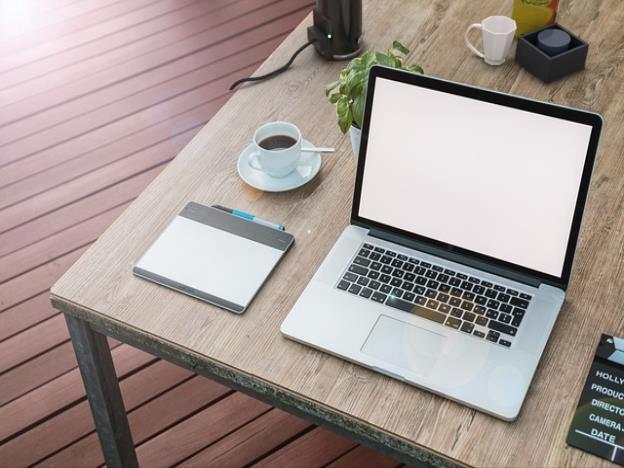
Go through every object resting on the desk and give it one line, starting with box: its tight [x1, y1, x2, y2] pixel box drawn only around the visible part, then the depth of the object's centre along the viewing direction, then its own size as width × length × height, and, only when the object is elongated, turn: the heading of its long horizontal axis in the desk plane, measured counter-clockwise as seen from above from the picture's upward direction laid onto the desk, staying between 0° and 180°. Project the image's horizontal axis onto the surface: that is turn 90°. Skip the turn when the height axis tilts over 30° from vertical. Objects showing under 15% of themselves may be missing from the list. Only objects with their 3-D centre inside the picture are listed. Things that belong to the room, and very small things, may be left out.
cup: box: [464, 15, 517, 66], centre depth 168 cm, size 7×10×8 cm
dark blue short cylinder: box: [536, 29, 570, 58], centre depth 165 cm, size 6×6×3 cm
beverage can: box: [510, 0, 560, 40], centre depth 173 cm, size 9×9×12 cm
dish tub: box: [514, 21, 590, 85], centre depth 167 cm, size 10×10×6 cm
